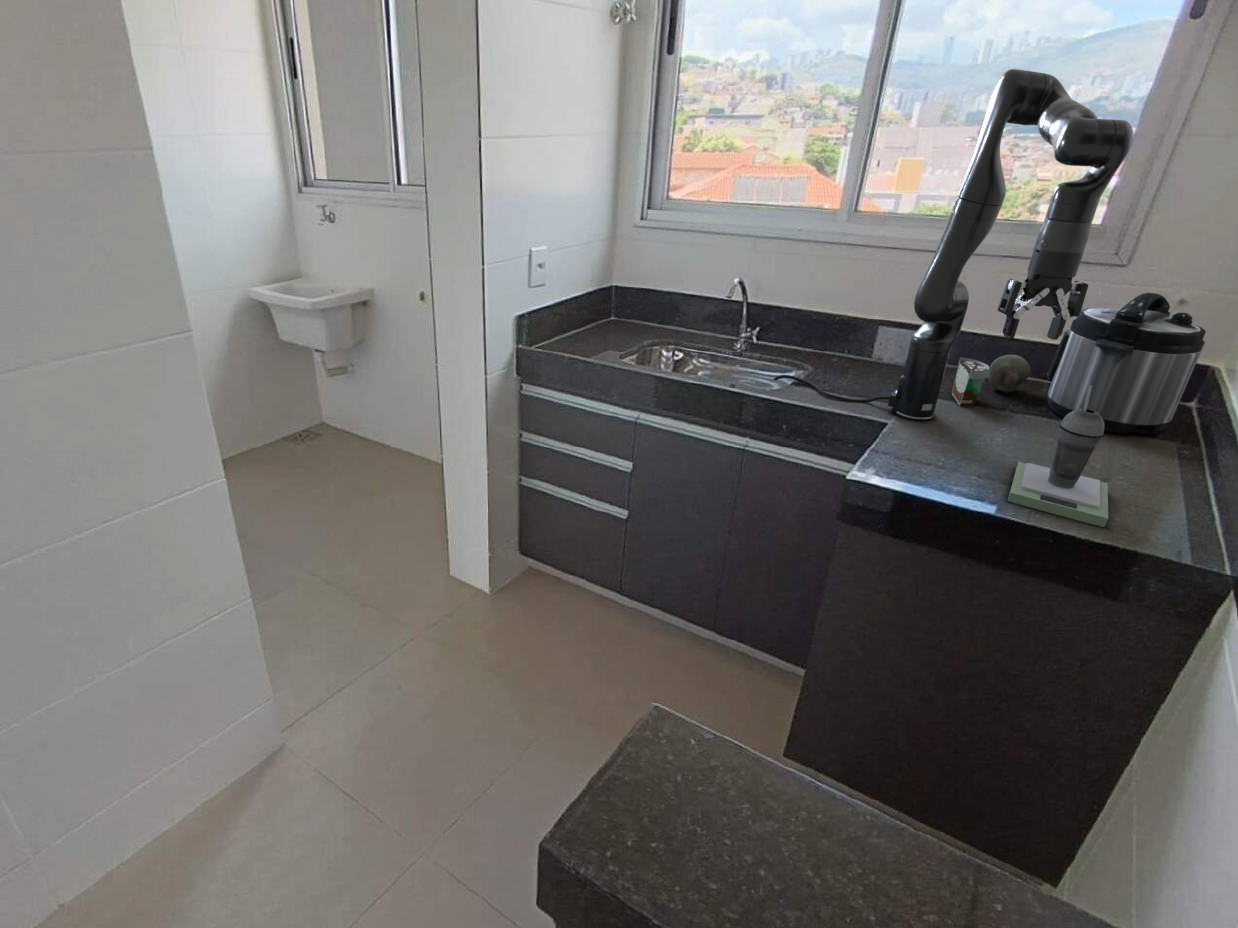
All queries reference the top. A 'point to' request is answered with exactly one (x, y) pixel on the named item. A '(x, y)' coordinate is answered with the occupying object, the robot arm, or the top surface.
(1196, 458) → the top surface
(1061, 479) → the beverage cup
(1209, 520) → the top surface
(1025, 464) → the kitchen scale
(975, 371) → the food container
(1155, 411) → the pressure cooker
